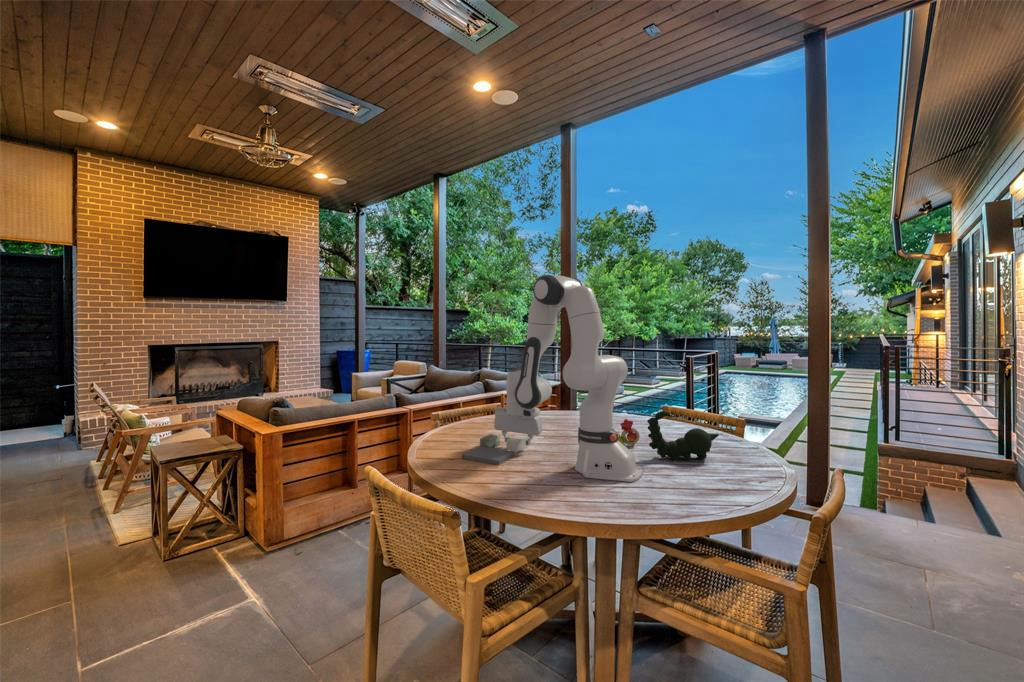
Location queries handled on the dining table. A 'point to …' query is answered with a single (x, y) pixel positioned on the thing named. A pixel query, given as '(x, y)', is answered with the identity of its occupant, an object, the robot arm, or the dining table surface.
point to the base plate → (488, 455)
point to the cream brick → (516, 443)
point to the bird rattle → (626, 429)
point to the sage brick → (490, 440)
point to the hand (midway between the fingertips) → (517, 443)
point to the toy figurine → (679, 441)
